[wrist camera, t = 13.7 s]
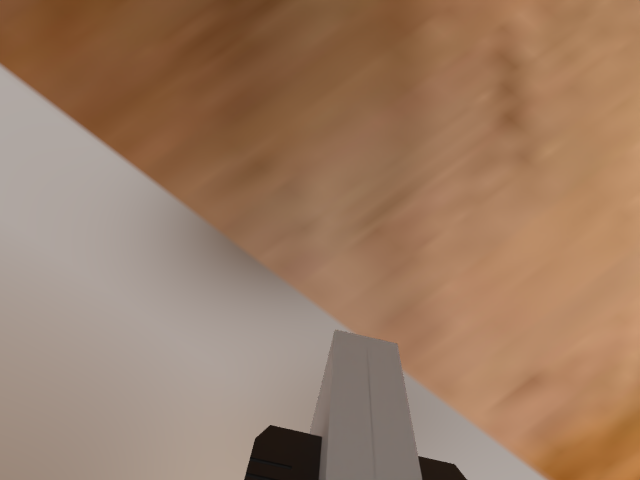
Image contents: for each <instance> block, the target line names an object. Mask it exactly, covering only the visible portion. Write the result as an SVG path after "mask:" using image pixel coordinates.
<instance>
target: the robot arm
mask: <svg viewBox="0 0 640 480" xmlns="http://www.w3.org/2000/svg"><path fill="white" fill-rule="evenodd" d="M244 480H467V479H466V478H465V477H464V475H463V474H462V473H461V472H460V470H459V469H458V468H457V467H456V465H454V464H451V463H447V462H442V461H437V460H433V459H429V458H424V457H420V456H418V454H417V448H416V443H415V437H414V432H413V426H412V421H411V416H410V410H409V405H408V399H407V394H406V388H405V383H404V377H403V372H402V367H401V361H400V356H399V350H398V345H397V343H392V342H388V341H384V340H379V339H375V338H370V337H366V336H361V335H357V334H353V333H348V332H343V331H339V330H335V332H334V335H333V340H332V343H331V347H330V351H329V355H328V360H327V364H326V368H325V372H324V376H323V380H322V385H321V388H320V392H319V396H318V400H317V404H316V408H315V413H314V417H313V421H312V425H311V429H310V434H308V433H303V432H299V431H294V430H290V429H285V428H281V427H276V426H272V425H270V426H269V427H268V428H267V429H266V430H264V431H263V432H262V433H261V434H260V435H259V436H257V437H256V439H255V442H254V445H253V449H252V453H251V457H250V461H249V464H248V468H247V472H246V476H245V479H244Z"/></svg>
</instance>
